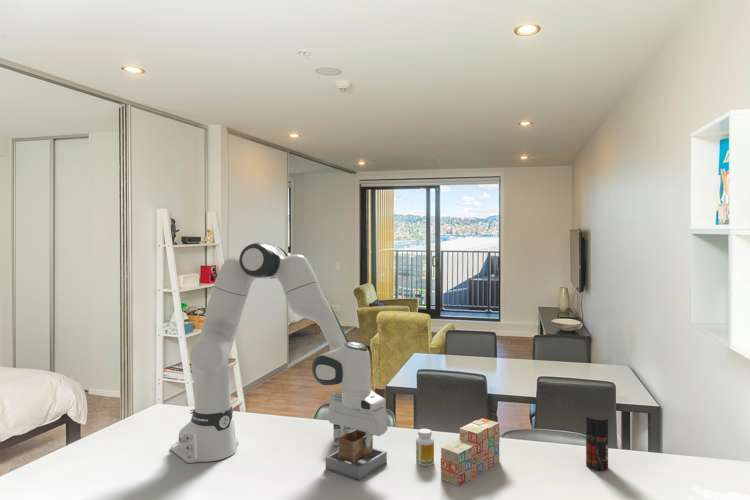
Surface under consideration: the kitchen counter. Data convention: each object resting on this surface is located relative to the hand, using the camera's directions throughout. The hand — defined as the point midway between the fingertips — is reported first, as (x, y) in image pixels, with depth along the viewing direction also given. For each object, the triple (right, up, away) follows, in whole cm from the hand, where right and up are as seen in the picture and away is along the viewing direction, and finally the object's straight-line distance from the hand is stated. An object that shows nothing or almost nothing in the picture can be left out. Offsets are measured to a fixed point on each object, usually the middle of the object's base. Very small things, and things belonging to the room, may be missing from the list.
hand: (356, 443), depth 147 cm
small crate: (0, -3, 0) cm, 3 cm away
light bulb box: (-5, -7, +20) cm, 21 cm away
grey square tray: (0, -7, 0) cm, 7 cm away
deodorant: (+71, -7, -2) cm, 72 cm away
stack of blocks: (+34, -7, -3) cm, 35 cm away
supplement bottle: (+21, -7, +2) cm, 22 cm away
